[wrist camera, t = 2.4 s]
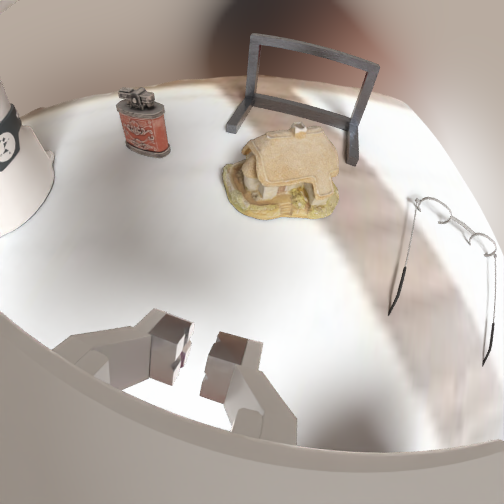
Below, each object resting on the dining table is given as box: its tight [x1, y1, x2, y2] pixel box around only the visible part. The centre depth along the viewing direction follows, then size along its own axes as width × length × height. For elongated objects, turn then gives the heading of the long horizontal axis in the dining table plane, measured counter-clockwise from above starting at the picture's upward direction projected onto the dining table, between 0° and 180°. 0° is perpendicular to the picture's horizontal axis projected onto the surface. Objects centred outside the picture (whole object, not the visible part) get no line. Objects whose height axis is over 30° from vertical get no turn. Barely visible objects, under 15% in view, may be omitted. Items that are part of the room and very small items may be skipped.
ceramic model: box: [222, 122, 339, 220], centre depth 30 cm, size 14×11×10 cm
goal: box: [227, 33, 380, 166], centre depth 35 cm, size 20×11×14 cm, turn 74°
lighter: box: [116, 87, 170, 158], centre depth 32 cm, size 8×3×10 cm, turn 64°
